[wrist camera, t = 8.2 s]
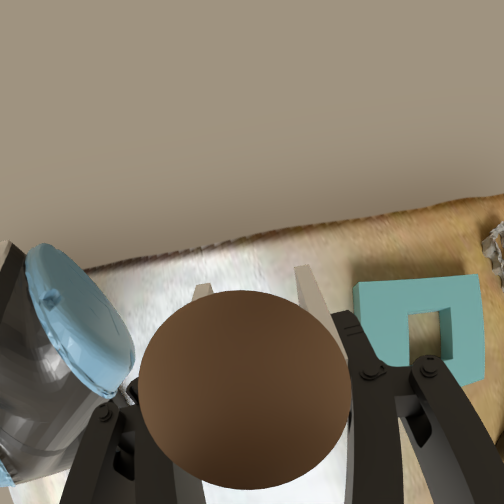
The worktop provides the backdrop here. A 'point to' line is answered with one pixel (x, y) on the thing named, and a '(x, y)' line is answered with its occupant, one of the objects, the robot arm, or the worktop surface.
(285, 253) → the worktop surface
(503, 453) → the supplement bottle
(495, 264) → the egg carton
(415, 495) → the worktop surface
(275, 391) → the walnut pin
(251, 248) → the worktop surface
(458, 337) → the teal square-hole block
